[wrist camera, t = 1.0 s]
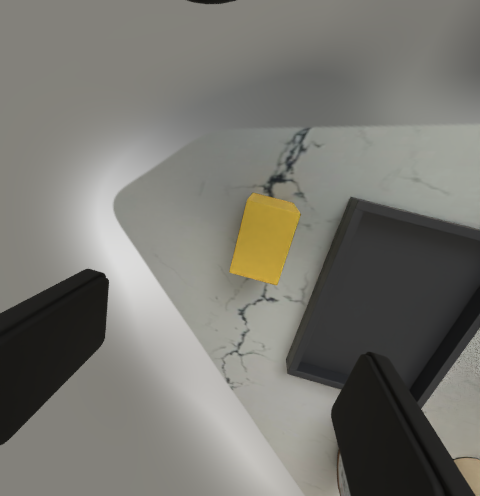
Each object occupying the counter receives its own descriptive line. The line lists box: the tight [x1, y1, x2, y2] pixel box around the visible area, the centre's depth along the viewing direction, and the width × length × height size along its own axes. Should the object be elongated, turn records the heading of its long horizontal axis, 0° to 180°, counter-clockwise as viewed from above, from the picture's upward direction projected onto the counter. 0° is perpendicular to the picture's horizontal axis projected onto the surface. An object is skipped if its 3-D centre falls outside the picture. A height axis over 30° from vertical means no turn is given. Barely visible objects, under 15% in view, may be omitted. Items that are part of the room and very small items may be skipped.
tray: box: [286, 197, 480, 408], centre depth 23 cm, size 20×15×2 cm
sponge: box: [229, 193, 301, 285], centre depth 20 cm, size 4×6×6 cm, turn 166°
